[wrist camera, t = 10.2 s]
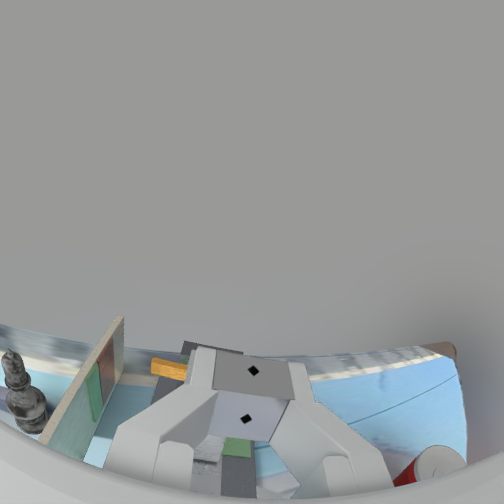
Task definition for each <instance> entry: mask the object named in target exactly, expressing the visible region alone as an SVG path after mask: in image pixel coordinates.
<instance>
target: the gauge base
mask: <svg viewBox="0 0 504 504" xmlns="http://www.w3.org/2000/svg"><path fill="white" fill-rule="evenodd" d="M123 343H124V316H120V315H117V316H116V318H115V319H114V320H113V322H112V323H111V325H110V326H109V328H108V329H107V330H106V332H105V333H104V335H103V336H102V338H101V339H100V341H99V342H98V343H97V345H96V346H95V348H94V349H93V351H92V352H91V354H90V355H89V357H88V358H87V360H86V361H85V363H84V364H83V366H82V367H81V369H80V371H79V372H78V374H77V375H76V377H75V378H74V380H73V381H72V383H71V385H70V386H69V388H68V389H67V391H66V393H65V394H64V396H63V398H62V399H61V401H60V402H59V404H58V406H57V407H56V409H55V411H54V412H53V414H52V416H51V418H50V419H49V421H48V423H47V424H46V426H45V428H44V430H43V431H42V433H41V435H40V437H39V439H38V440H37V441H38V442H40V443H42V444H44V445H46V446H49V447H51V448H53V449H55V450H57V451H59V452H61V453H64V454H66V455H68V456H71V457H73V458H75V459H78V460H80V461H83V459H84V457H85V454H86V452H87V449H88V447H89V445H90V442H91V440H92V438H93V435H94V433H95V431H96V429H97V426H98V424H99V422H100V420H101V417H102V415H103V413H104V411H105V408H106V406H107V404H108V402H109V400H110V398H111V395H112V393H113V391H114V389H115V387H116V385H117V383H118V381H119V379H120V376H121V374H122V372H123V370H124V344H123ZM198 346H202V347H206V348H211V349H216V350H221V351H226V352H231V353H236V354H241V355H243V352H239V351H233V350H228V349H223V348H217V347H212V346H207V345H202V344H197V343H193V342H188V341H184V344H183V348H182V351H181V355H180V364H185V365H188V363H189V359H190V355H191V351H192V349H193V350H197V348H198ZM183 384H184V381H182V380H178V379H173V378H169V377H165V376H160V377H159V381H158V384H157V387H156V390H155V393H154V396H153V399H152V402H151V405H152V404H154V403H155V402H157V401H158V400H160V399H162V398H163V397H165V396H166V395H168V394H169V393H171V392H172V391H174V390H175V389H177V388H178V387H180V386H181V385H183ZM151 405H150V406H151ZM190 492H196V493H203V494H210V495H218V496H228V497H239V498H254V499H257V498H256V478H255V458H254V440H246V439H239V438H230V437H226V440H225V443H224V446H223V449H222V452H221V455H220V458H219V461H218V462H213V461H206V460H200V459H194V458H193V464H192V474H191V483H190Z"/></svg>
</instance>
